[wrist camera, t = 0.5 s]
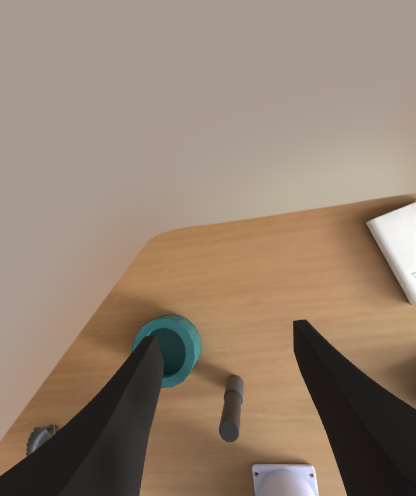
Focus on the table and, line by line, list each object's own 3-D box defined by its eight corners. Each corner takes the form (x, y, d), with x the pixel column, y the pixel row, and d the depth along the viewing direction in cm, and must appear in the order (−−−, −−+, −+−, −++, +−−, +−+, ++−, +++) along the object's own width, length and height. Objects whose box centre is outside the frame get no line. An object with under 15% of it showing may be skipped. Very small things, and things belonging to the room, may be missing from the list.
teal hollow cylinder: (203, 374, 34) (197, 386, 30) (146, 377, 36) (133, 389, 32) (197, 312, 36) (191, 315, 32) (143, 317, 37) (130, 321, 33)
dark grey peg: (244, 392, 33) (242, 445, 22) (227, 393, 34) (218, 445, 23) (242, 374, 34) (239, 417, 23) (226, 375, 34) (215, 418, 23)
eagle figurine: (101, 438, 34) (49, 408, 35) (62, 505, 28) (-1, 468, 29) (94, 455, 38) (47, 428, 39) (58, 517, 32) (3, 484, 32)
